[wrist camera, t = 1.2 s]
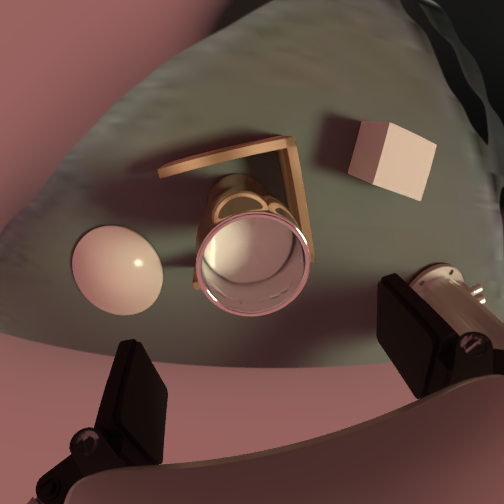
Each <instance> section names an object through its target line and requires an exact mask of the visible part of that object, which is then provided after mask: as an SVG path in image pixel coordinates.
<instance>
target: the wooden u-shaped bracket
mask: <svg viewBox="0 0 504 504" xmlns="http://www.w3.org/2000/svg"><path fill="white" fill-rule="evenodd" d="M274 150H277V152H278V157H279V161H280V166H281V172H282V177H283V182H284V187H285V192H286V198H287V203H288V208H289V211H290V213H291V214H292V216H293V217H294V219H295V220H296V222H297V224H298V226H299V228H300V230H301V232H302V234H303V235H304V237H305V238H306V240H307V242H308V245H309V248H310V253H311V262H313V261H315V256H314V249H313V242H312V235H311V229H310V222H309V216H308V210H307V203H306V197H305V191H304V186H303V180H302V174H301V169H300V163H299V158H298V152H297V147H296V142H295V137H292V136H285V135H281V136H275V137H270V138H265V139H260V140H256V141H251V142H246V143H242V144H237V145H233V146H229V147H225V148H220V149H216V150H212V151H208V152H204V153H201V154H197V155H193V156H189V157H186V158H182V159H178V160H175V161H171V162H168V163H166V164H164V165H163V166H162V167H160V168H159V169H158V174H159V178H160V179H161V178H164V177H168V176H171V175H175V174H178V173H182V172H185V171H189V170H193V169H197V168H200V167H204V166H208V165H212V164H216V163H220V162H224V161H228V160H233V159H237V158H241V157H246V156H250V155H255V154H259V153H264V152H269V151H274ZM193 286H194V289H195V290H198V289H201V287H200V285H199V282H198V279H197V275H196V261H195V268H194V276H193Z"/></svg>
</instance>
